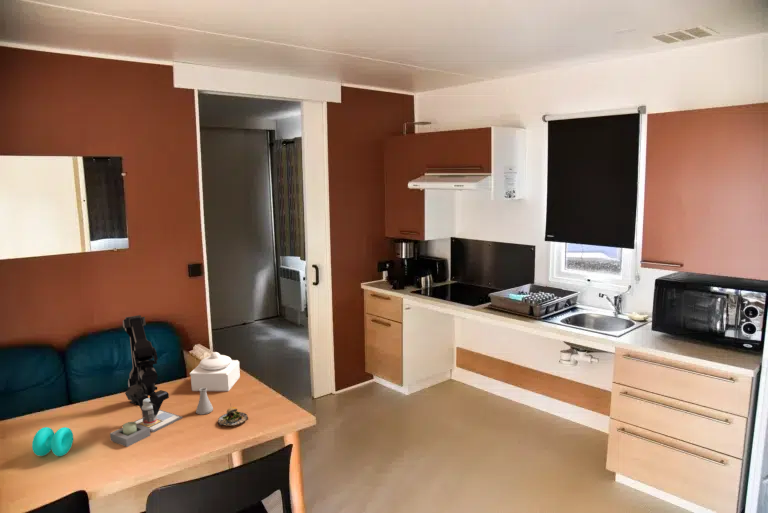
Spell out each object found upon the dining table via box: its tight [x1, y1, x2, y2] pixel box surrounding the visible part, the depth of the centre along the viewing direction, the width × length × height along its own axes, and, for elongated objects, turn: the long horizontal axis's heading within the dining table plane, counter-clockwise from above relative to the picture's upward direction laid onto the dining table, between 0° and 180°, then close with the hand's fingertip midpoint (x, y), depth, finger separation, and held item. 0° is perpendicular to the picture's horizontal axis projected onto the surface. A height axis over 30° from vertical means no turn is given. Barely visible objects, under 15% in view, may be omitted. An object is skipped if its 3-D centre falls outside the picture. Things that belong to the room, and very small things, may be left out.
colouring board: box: [133, 409, 183, 433], centre depth 219 cm, size 14×14×1 cm
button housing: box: [109, 424, 151, 448], centre depth 205 cm, size 10×10×3 cm
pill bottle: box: [141, 397, 157, 425], centre depth 216 cm, size 5×5×10 cm
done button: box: [122, 421, 137, 436], centre depth 205 cm, size 5×5×4 cm
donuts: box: [31, 426, 74, 457], centre depth 194 cm, size 10×10×10 cm
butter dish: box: [189, 351, 241, 392], centre depth 256 cm, size 18×18×16 cm
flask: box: [195, 388, 214, 415], centre depth 227 cm, size 7×7×10 cm
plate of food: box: [217, 403, 249, 428], centre depth 217 cm, size 12×12×8 cm
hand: (149, 412), depth 216 cm, fingers open, 8 cm apart
